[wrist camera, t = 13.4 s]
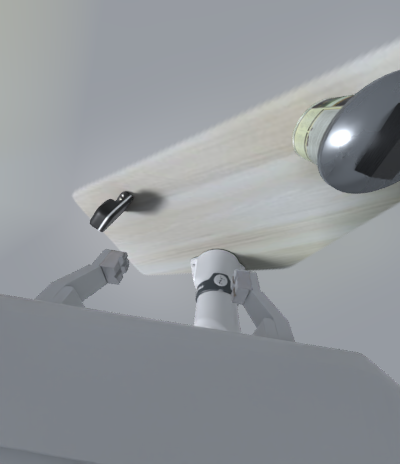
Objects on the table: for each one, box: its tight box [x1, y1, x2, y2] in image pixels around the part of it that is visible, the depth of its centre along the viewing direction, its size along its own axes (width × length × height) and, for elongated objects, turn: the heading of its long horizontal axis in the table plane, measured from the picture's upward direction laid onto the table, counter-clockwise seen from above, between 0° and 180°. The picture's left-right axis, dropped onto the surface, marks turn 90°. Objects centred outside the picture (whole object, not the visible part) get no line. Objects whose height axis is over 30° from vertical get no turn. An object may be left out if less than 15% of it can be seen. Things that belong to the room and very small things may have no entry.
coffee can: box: [292, 95, 354, 165], centre depth 26 cm, size 10×10×14 cm
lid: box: [317, 70, 400, 193], centre depth 19 cm, size 13×13×4 cm
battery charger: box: [90, 192, 133, 232], centre depth 41 cm, size 7×4×11 cm, turn 137°
